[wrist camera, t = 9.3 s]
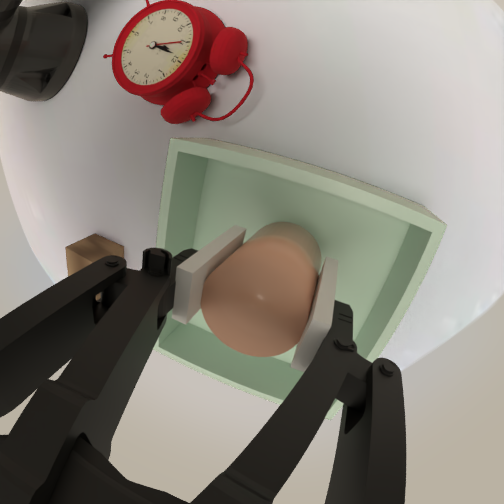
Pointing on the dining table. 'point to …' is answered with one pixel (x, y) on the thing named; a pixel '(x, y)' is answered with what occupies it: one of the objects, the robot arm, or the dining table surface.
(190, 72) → the alarm clock
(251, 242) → the terracotta canister
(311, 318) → the robot arm
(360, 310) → the tray
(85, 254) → the walnut cube
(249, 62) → the dining table surface
